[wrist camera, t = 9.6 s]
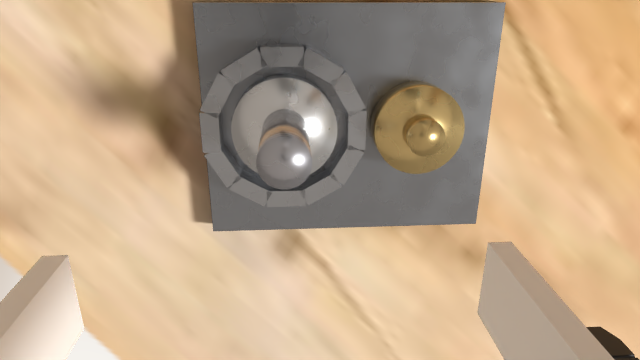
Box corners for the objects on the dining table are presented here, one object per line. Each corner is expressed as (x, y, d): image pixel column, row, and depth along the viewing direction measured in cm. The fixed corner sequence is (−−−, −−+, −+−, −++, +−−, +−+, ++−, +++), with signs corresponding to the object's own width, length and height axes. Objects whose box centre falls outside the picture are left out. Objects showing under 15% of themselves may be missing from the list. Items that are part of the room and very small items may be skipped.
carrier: (195, 2, 31) (180, 4, 27) (498, 1, 32) (531, 4, 28) (215, 223, 37) (205, 256, 33) (470, 216, 38) (494, 246, 34)
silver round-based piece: (230, 74, 32) (213, 99, 24) (336, 73, 32) (350, 97, 25) (236, 174, 34) (222, 223, 27) (334, 172, 35) (347, 220, 27)
